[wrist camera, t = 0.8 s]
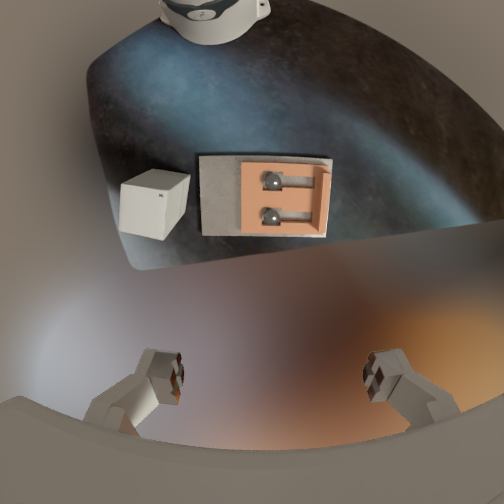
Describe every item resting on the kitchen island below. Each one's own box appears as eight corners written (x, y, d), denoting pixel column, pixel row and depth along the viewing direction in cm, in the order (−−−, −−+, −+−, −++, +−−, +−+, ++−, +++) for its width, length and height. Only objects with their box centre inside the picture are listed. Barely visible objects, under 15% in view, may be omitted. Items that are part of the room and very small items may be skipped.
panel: (241, 161, 43) (240, 163, 40) (326, 165, 43) (331, 167, 40) (241, 231, 48) (240, 237, 46) (321, 232, 48) (324, 238, 45)
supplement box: (151, 167, 45) (120, 181, 33) (191, 174, 45) (170, 190, 34) (147, 206, 48) (117, 231, 36) (185, 214, 48) (164, 242, 37)
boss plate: (200, 155, 44) (196, 157, 41) (330, 158, 44) (336, 161, 41) (203, 233, 50) (200, 240, 47) (324, 235, 50) (328, 242, 47)
